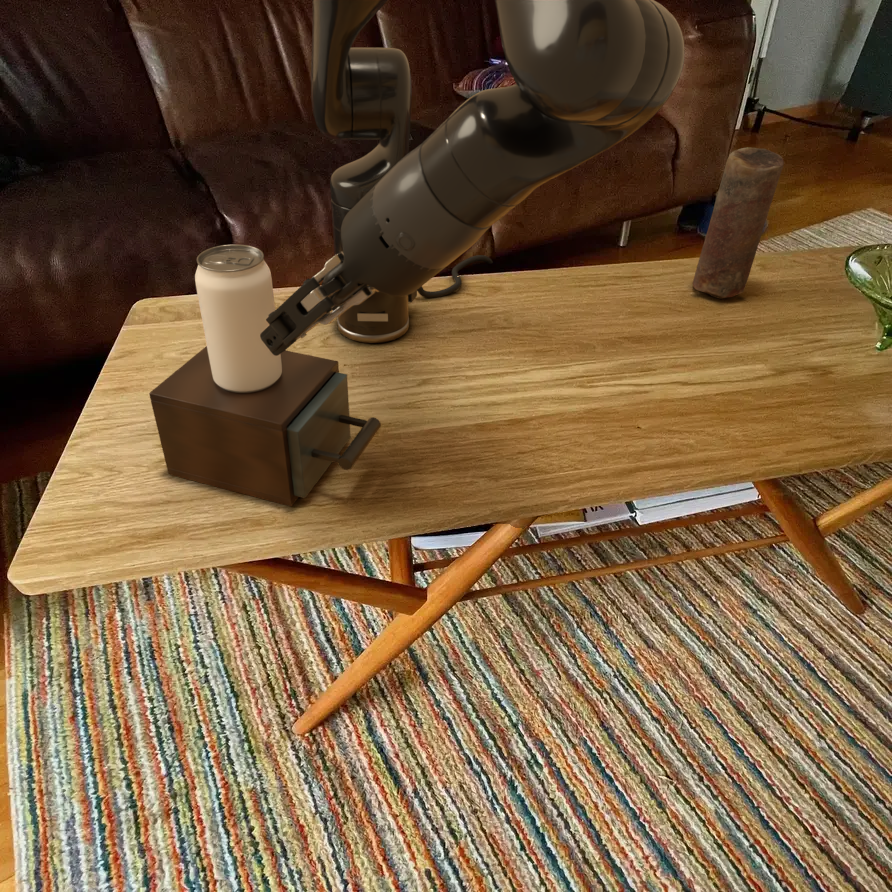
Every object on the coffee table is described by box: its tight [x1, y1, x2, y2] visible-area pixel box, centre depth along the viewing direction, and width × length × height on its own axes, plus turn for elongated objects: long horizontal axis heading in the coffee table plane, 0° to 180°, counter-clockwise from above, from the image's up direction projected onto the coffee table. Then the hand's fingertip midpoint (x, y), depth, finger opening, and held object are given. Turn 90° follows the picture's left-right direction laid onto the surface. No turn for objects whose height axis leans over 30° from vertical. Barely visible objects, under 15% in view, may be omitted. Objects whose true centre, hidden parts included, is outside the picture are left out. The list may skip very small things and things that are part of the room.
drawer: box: [287, 372, 382, 499], centre depth 74 cm, size 17×10×8 cm, turn 71°
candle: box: [692, 146, 785, 299], centre depth 107 cm, size 8×7×20 cm
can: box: [194, 243, 282, 393], centre depth 69 cm, size 6×6×12 cm
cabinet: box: [148, 345, 340, 507], centre depth 75 cm, size 14×12×10 cm
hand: (301, 324), depth 65 cm, fingers open, 8 cm apart
